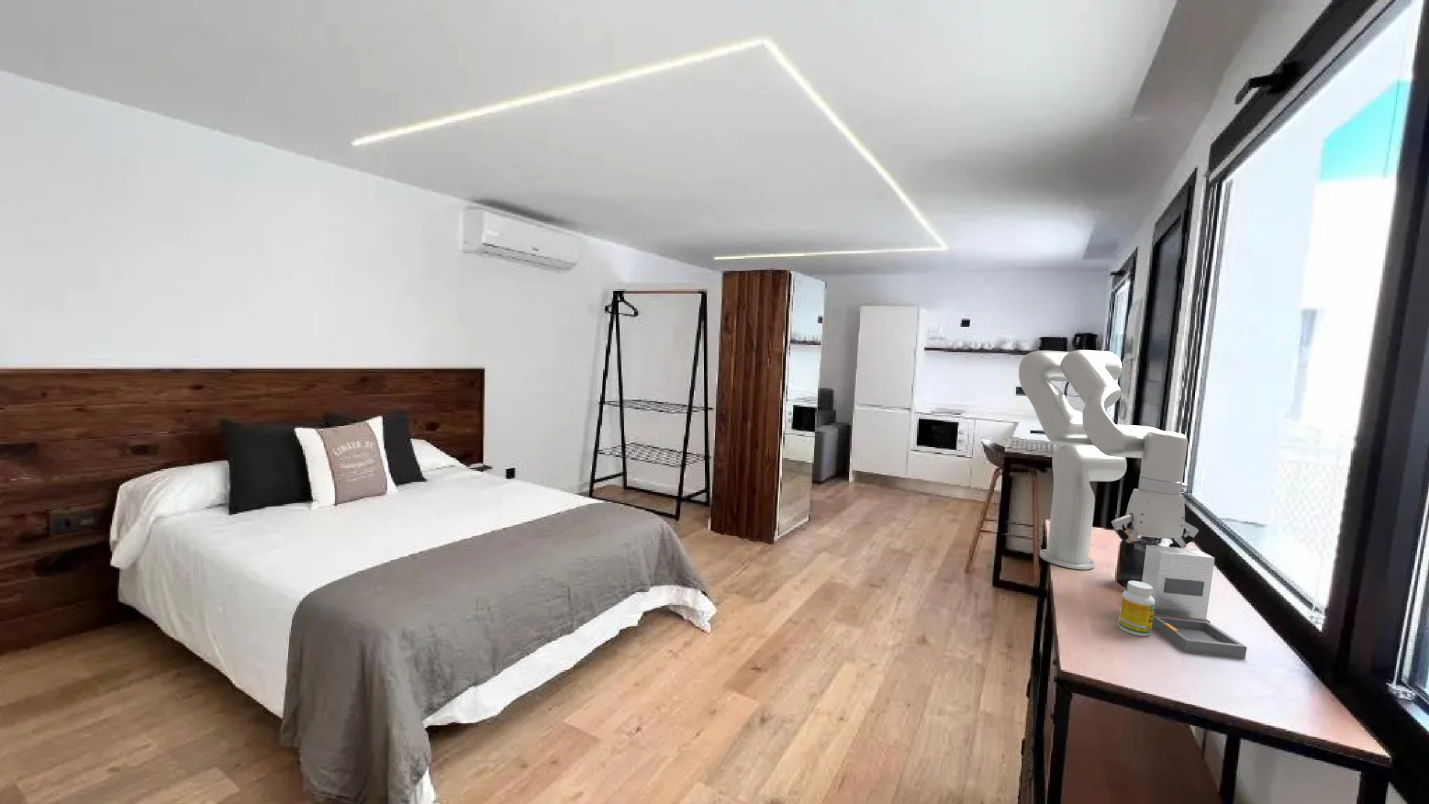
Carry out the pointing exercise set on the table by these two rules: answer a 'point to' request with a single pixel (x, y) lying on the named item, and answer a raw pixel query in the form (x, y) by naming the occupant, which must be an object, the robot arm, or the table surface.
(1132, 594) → the supplement bottle
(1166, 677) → the table surface
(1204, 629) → the tray
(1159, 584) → the box
